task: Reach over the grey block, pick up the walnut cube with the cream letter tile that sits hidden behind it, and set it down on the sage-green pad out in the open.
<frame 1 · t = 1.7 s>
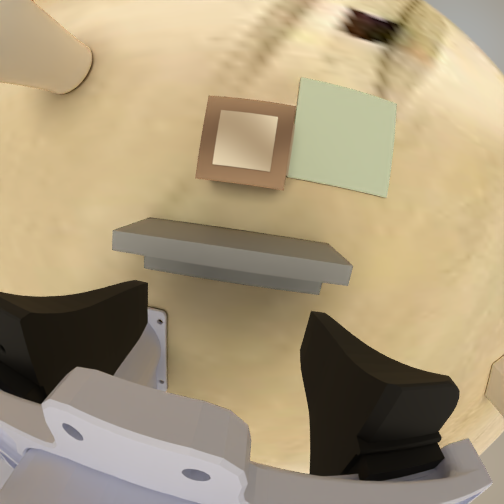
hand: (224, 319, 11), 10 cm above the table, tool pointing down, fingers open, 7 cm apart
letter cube: (248, 151, 19), on the table
grey block: (236, 237, 21), on the table
beige paper cup: (73, 71, 17), on the table
pad: (345, 136, 19), on the table
medicine bottle: (502, 367, 25), on the table
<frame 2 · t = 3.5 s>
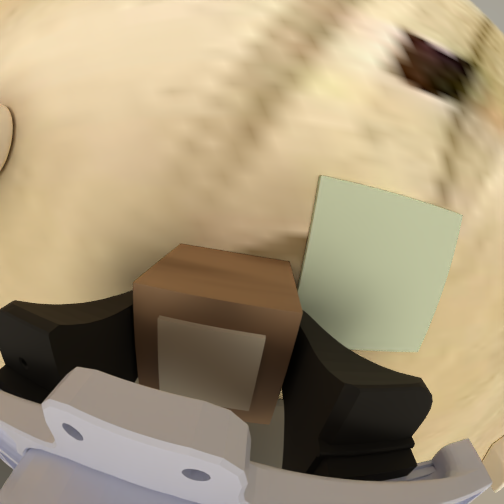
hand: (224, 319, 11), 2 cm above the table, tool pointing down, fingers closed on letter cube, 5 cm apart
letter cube: (227, 302, 13), on the table, touching gripper
grey block: (216, 397, 15), on the table
pad: (380, 276, 12), on the table
medicine bottle: (502, 441, 18), on the table
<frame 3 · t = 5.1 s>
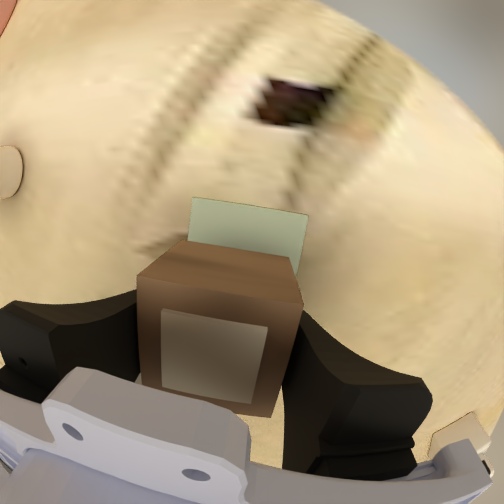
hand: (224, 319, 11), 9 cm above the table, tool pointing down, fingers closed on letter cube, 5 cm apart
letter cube: (227, 297, 13), point 7 cm above the table, touching gripper
beige paper cup: (12, 171, 19), on the table
pad: (241, 260, 20), on the table
medicine bottle: (449, 433, 26), on the table
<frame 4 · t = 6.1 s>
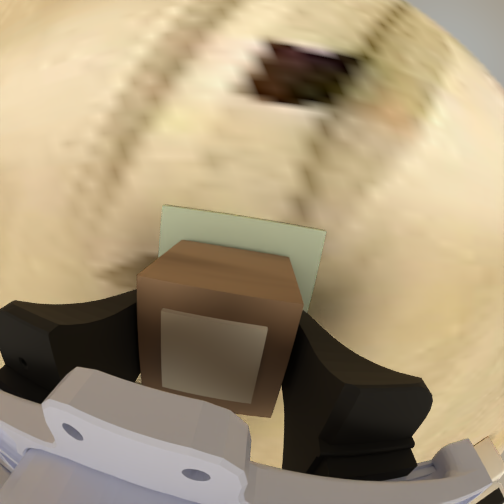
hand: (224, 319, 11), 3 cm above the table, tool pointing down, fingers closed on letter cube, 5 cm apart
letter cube: (227, 297, 13), point 1 cm above the table, touching gripper
pad: (232, 292, 14), on the table
medicine bottle: (462, 458, 20), on the table
when the fingers open (3 cm above the table, at t = 6.7 s): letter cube stays where it is, resting on pad.
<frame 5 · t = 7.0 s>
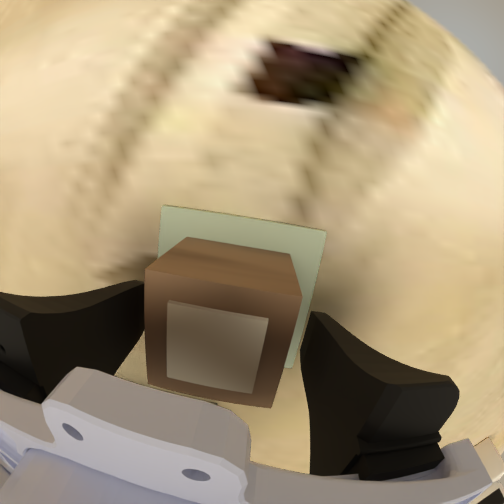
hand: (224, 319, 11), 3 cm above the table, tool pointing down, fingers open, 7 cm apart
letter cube: (230, 293, 14), resting on pad
pad: (232, 293, 14), on the table
medicine bottle: (463, 458, 20), on the table
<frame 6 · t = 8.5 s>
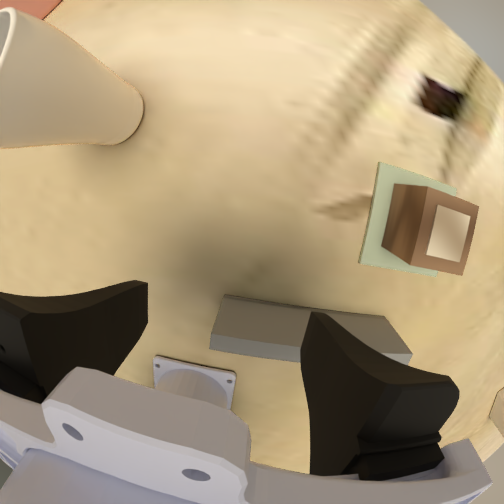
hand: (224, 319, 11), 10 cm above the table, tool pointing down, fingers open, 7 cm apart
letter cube: (413, 221, 19), resting on pad
grey block: (308, 314, 22), on the table
beige paper cup: (119, 115, 19), on the table
pad: (411, 223, 20), on the table
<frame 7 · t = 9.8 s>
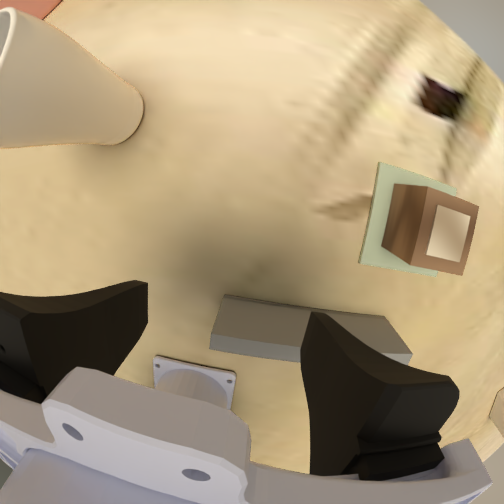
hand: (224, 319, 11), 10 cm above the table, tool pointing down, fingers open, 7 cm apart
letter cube: (413, 221, 19), resting on pad
grey block: (308, 314, 22), on the table
beige paper cup: (119, 115, 19), on the table
pad: (411, 223, 20), on the table
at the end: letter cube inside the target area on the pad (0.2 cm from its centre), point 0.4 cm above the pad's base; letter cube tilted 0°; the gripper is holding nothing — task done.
